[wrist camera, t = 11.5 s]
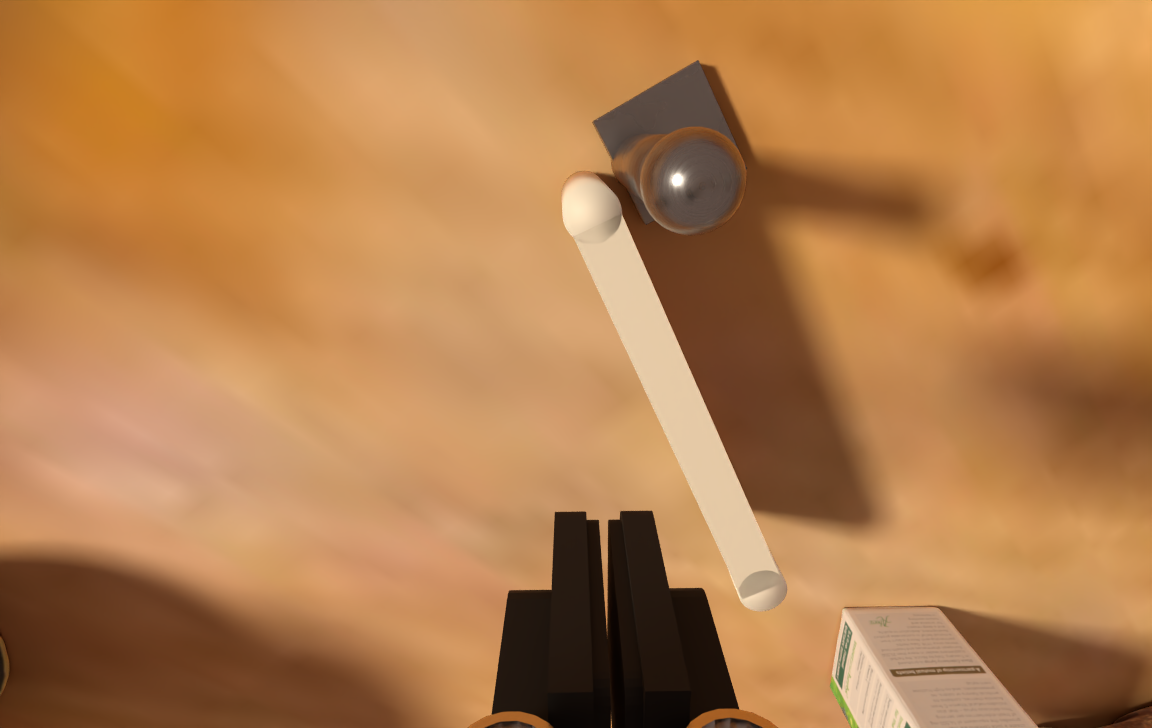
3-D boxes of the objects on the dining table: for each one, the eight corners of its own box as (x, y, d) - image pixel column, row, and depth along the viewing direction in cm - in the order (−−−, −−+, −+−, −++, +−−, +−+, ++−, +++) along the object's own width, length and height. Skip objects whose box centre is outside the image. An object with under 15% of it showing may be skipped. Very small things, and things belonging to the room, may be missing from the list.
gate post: (741, 167, 31) (889, 195, 17) (635, 226, 32) (695, 298, 18) (693, 62, 29) (813, 0, 16) (584, 126, 30) (606, 121, 16)
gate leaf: (595, 163, 30) (607, 173, 23) (743, 501, 36) (793, 600, 28) (553, 183, 30) (552, 199, 23) (708, 516, 36) (748, 618, 28)
